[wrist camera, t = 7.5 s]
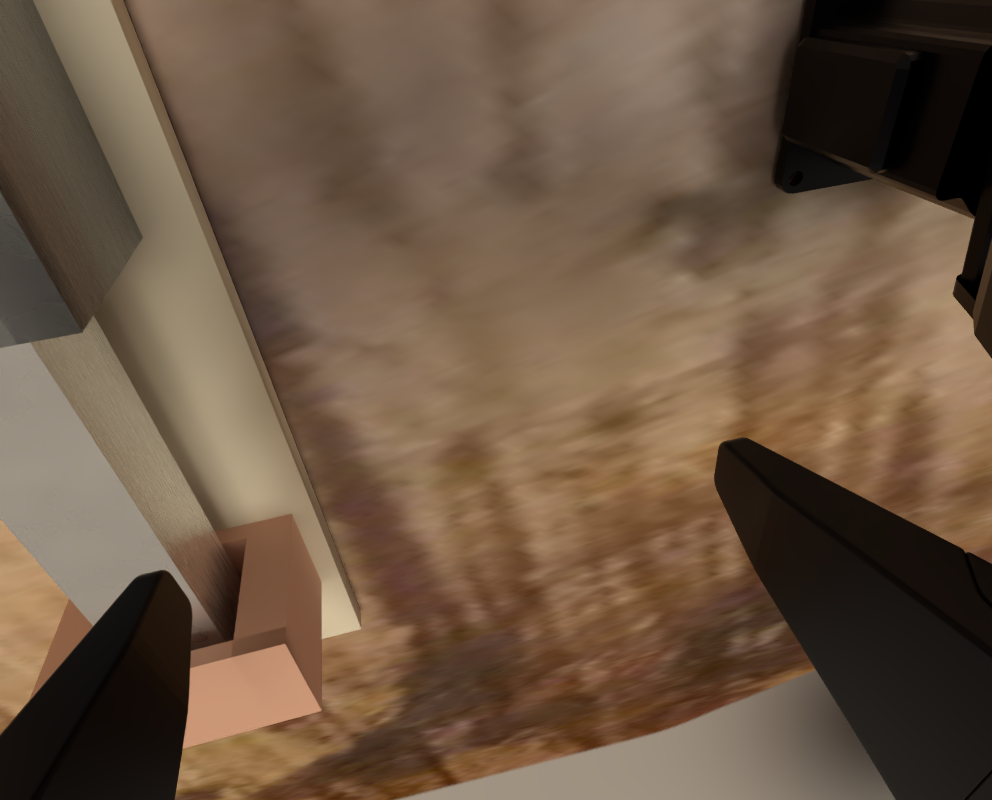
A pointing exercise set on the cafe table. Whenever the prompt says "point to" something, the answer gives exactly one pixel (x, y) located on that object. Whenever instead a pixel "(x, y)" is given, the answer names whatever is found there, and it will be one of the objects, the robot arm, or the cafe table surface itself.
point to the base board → (187, 307)
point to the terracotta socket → (246, 638)
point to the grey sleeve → (51, 193)
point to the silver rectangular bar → (102, 484)
